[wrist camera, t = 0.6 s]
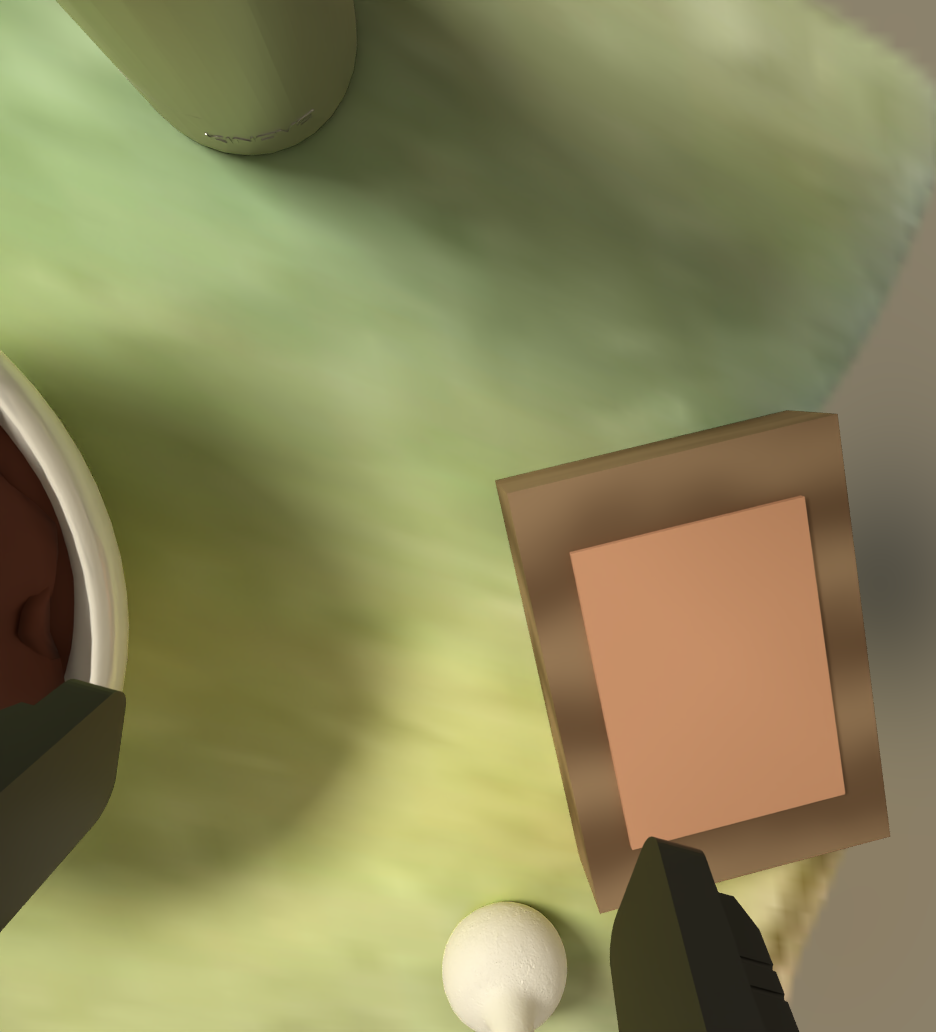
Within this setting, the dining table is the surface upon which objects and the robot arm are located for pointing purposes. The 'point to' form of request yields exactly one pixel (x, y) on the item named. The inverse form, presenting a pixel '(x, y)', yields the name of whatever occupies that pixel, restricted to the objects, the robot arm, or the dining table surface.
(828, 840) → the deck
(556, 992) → the garlic bulb
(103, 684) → the bowl of brown food
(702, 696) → the mat
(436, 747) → the dining table surface
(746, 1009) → the robot arm
